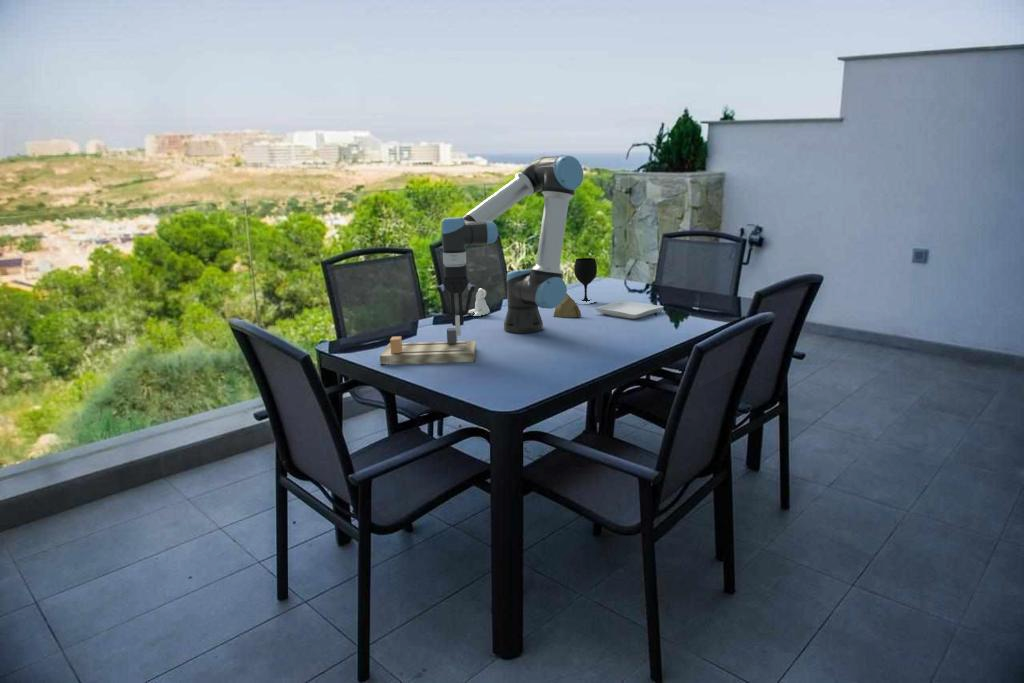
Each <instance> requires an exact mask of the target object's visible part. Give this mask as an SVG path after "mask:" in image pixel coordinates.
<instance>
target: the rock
mask: <svg viewBox="0 0 1024 683" xmlns="http://www.w3.org/2000/svg"><path fill="white" fill-rule="evenodd" d="M575 301H576V300H574V299H573V298H572V297H571V296H570V295H569V294H568V293H566V296H565V299H564V300H563V302H562V303H561V304H560V305H559V306H557V307H555V308H554V312H553V315H552V317H553V316H558V317H557V318H580V317H582V313H581V310H580V308H579V304H576V303H575Z"/></svg>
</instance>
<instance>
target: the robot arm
mask: <svg viewBox="0 0 1024 683" xmlns="http://www.w3.org/2000/svg"><path fill="white" fill-rule="evenodd" d="M582 166H583V165H581V163H580V161H579V159H577V158H576V157H575V156H573V155H566V154H565V155H564V154H561V155H553V156H552V155H551V156H542V157H539V158H537V159H535V160H534V161H532V162H531V163H528V165H526V166H524V167H523V168H522V169H521V170H519V171H518V172H516V173H515V175H514V178H513V179H512V180H510V181H509V182H507V183H506V184H505V185H503V186H502V187H500V188H499V189H498V190H497V191H496V192H494V193H493V194H492V195H490V196H489V197H487V198H486V199H485V200H484V201H482V202H481V203H479V204H477V206H475V207H474V208H472V209H471V210H470V211H469V212H467V213H466V214H464V215H463V216H454V217H451V216H450V217H443V219H441V231H440V233H441V240H442V241H441V243H442V261H443V262H442V263H443V265H444V266H443V276H444V277H443V282H442V284H441V285H438V286H437V287H436V290H437V292H438V294H440V295H439V296H440V297H441V302H442V304H443V307H444V312H445V314H446V315H447V316H450V317H451V325H452V326H453V327H454V326H455V328H456V336H457V337H459V336H461V334H462V330H461V327H462V326H464V324H465V323H464V321H465V320H464V316H466V315H468V312H469V310H470V308H471V307H470V305H471V300H472V297H473V296H472V295H473V292H474V291H475V289H476V285H475V284H471V282H470V281H469V279H468V274H467V273H468V271H467V269H468V268H467V265H466V264H467V250H466V247H469V246H480V245H486V246H487V245H489V244H490V245H491V244H494V243H495V242H496V241H497V239H498V236H499V231H498V227H497V225H496V223H495V222H494V220H496V219H498V218H499V217H500V216H501V215H503V214H504V213H505V212H507V211H508V210H509V209H510V208H512V207H513V206H515V205H516V204H517V203H519V202H520V201H522V200H523V199H524V198H526V197H531V196H532V195H534V194H536V193H537V192H540V191H541V194H542V196H544V202H543V203H544V204H543V211H542V217H541V218H542V219H541V224H540V226H541V227H540V231H539V232H540V233H539V240H538V247H537V253H536V254H537V255H536V262H535V264H534V266H532V267H531V268H526V269H516V270H510V271H508V272H507V274H506V281H505V282H506V295H507V297H506V298H507V312H506V315H505V318H504V322H503V329H504V330H503V331H505V332H507V333H514V334H528V333H529V334H530V333H536V332H540V331H542V330H544V322H543V320H542V316H541V313H540V311H539V308H540V309H548V310H549V309H555V308H556V307H557V306H559V305H560V304H561V303H562V302H563V300H564V299H565V296H566V293H567V291H568V289H567V284H566V282H565V281H564V279H563V275H564V274H563V272H564V271H563V270H562V269H561V268H560V266H561V258H562V252H563V244H564V239H565V238H564V237H565V231H566V224H567V223H566V222H567V216H568V210H569V202H570V201H571V199H573V198H574V196H575V190H577V189H578V188H579V187H580V186H582V183H583V180H584V170H583V169H584V168H583V167H582ZM445 289H446V290H447V291H448V293H450V305H449V303H448V298H447V297H446V293H445ZM466 289H467V290H468V294H467V297H466V304H465V309H464V300H463V293H464V291H465V290H466ZM455 294H457V297H458V314H456V311H457V310H456V295H455ZM567 294H568V293H567ZM449 306H450V307H449Z"/></svg>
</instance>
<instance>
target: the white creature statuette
mask: <svg viewBox="0 0 1024 683" xmlns="http://www.w3.org/2000/svg"><path fill="white" fill-rule="evenodd" d="M486 296H487V291H486V289H484V288H481V287H480V288H478V289H477V292H476V295H475V302H474V308H472V309H469V312H468V313H473V312H474V313H475V314H474V315H472V316H481V315H485V314H488V313H489V314H490V311H491V310H490V309H489V306H488V305H487V302H486V299H485V298H486ZM489 314H488V315H489Z"/></svg>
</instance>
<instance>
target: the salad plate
mask: <svg viewBox="0 0 1024 683" xmlns="http://www.w3.org/2000/svg"><path fill="white" fill-rule="evenodd" d="M663 309H664V305H658V304H657V305H656V304H651V303H644V302H636V301H630V300H628V301H627V300H620V301H616V302H611V303H607V304H604V305H600V306H596V307H594V310H596V311H597V313H600V314H603V315H605V314H606V316H610V317H615V318H623V319H629V320H636V319H640V318H644V317H646V316H651V315H653V314H656V313H659V312H660V311H662V310H663Z"/></svg>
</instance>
